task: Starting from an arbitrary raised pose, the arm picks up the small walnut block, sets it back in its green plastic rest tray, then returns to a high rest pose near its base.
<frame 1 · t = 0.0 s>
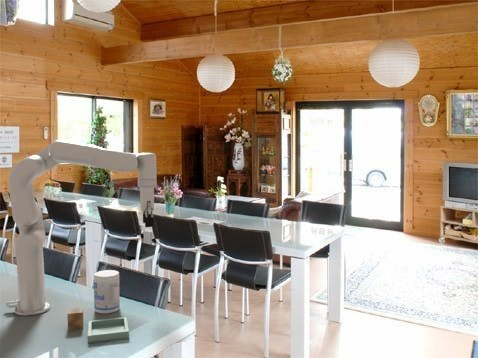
hand: (148, 224, 194), 31 cm above the table, fingers open, 9 cm apart
walnut block: (75, 327, 168), on the table
supplement tub: (107, 310, 184), on the table
rest tray: (108, 333, 162), on the table
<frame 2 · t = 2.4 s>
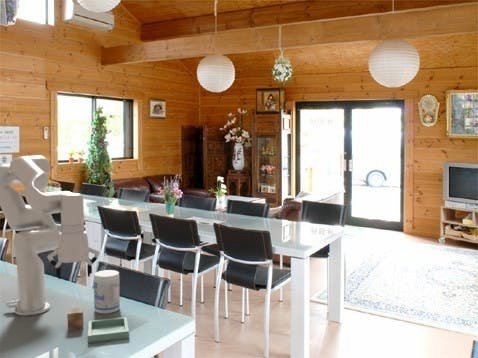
hand: (74, 276, 166), 18 cm above the table, fingers open, 9 cm apart
nothing on the table moved.
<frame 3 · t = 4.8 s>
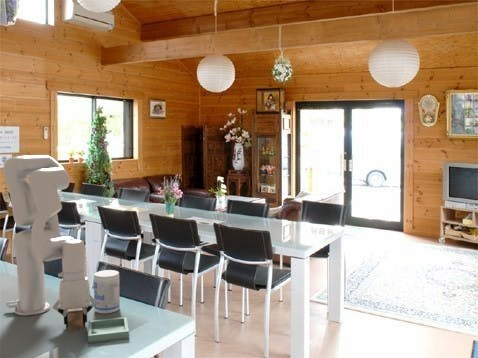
hand: (75, 324, 168), 1 cm above the table, fingers closed on walnut block, 5 cm apart
walnut block: (75, 326, 168), on the table, touching gripper
everything else where it was.
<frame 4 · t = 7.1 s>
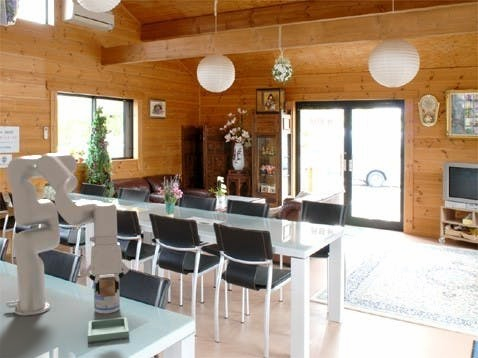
hand: (107, 292, 161), 15 cm above the table, fingers closed on walnut block, 5 cm apart
walnut block: (107, 294, 161), point 14 cm above the table, touching gripper
everything else where it was.
when the fingers open (2 cm above the table, at t = 9.5 s): walnut block drops 1 cm, resting on rest tray.
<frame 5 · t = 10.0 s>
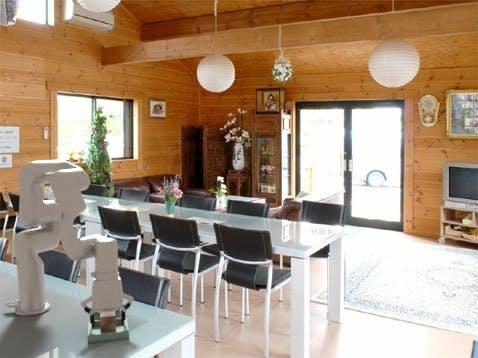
hand: (108, 323, 162), 3 cm above the table, fingers open, 9 cm apart
walnut block: (108, 331, 162), point 1 cm above the table, touching rest tray
everything else where it was.
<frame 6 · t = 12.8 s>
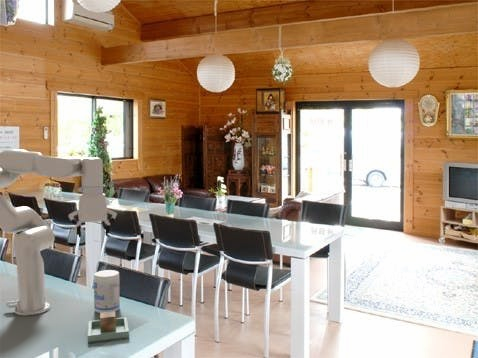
hand: (93, 236, 178), 30 cm above the table, fingers open, 9 cm apart
nothing on the table moved.
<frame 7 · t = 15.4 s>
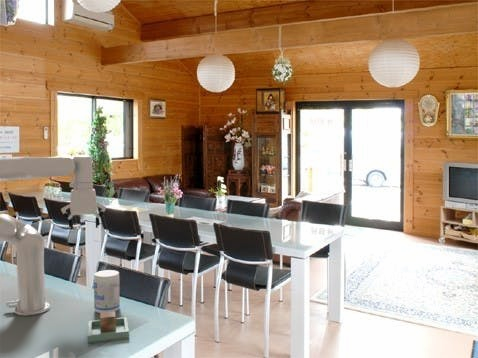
hand: (84, 228, 192), 30 cm above the table, fingers open, 9 cm apart
nothing on the table moved.
at the end: walnut block inside the target area on the rest tray (0.0 cm from its centre), point 0.6 cm above the rest tray's base; walnut block tilted 0°; the gripper is holding nothing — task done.
